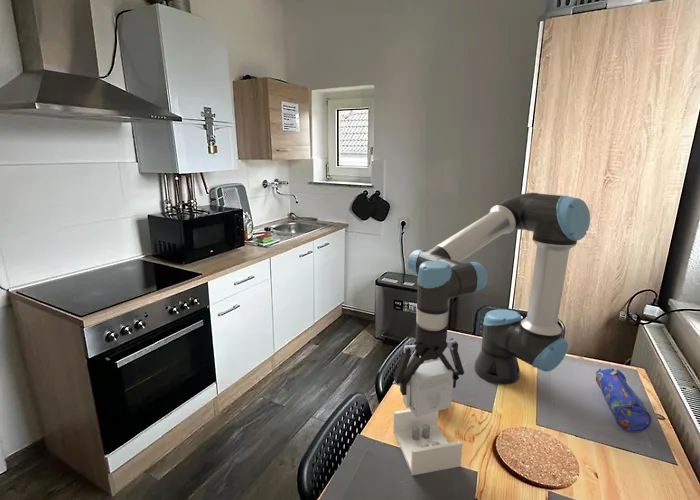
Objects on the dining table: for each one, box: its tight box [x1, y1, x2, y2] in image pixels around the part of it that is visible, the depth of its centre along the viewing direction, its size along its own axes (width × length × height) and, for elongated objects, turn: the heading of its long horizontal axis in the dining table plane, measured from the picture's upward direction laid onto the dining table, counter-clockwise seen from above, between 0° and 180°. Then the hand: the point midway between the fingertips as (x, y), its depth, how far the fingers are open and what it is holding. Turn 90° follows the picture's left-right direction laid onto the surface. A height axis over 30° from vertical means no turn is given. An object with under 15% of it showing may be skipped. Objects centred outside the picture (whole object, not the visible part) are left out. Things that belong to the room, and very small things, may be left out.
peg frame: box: [392, 408, 463, 476], centre depth 101 cm, size 13×15×7 cm
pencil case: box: [595, 368, 653, 433], centre depth 115 cm, size 22×9×10 cm, turn 162°
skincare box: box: [408, 359, 453, 417], centre depth 97 cm, size 10×6×10 cm, turn 110°
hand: (427, 401), depth 98 cm, fingers closed on skincare box, 11 cm apart
